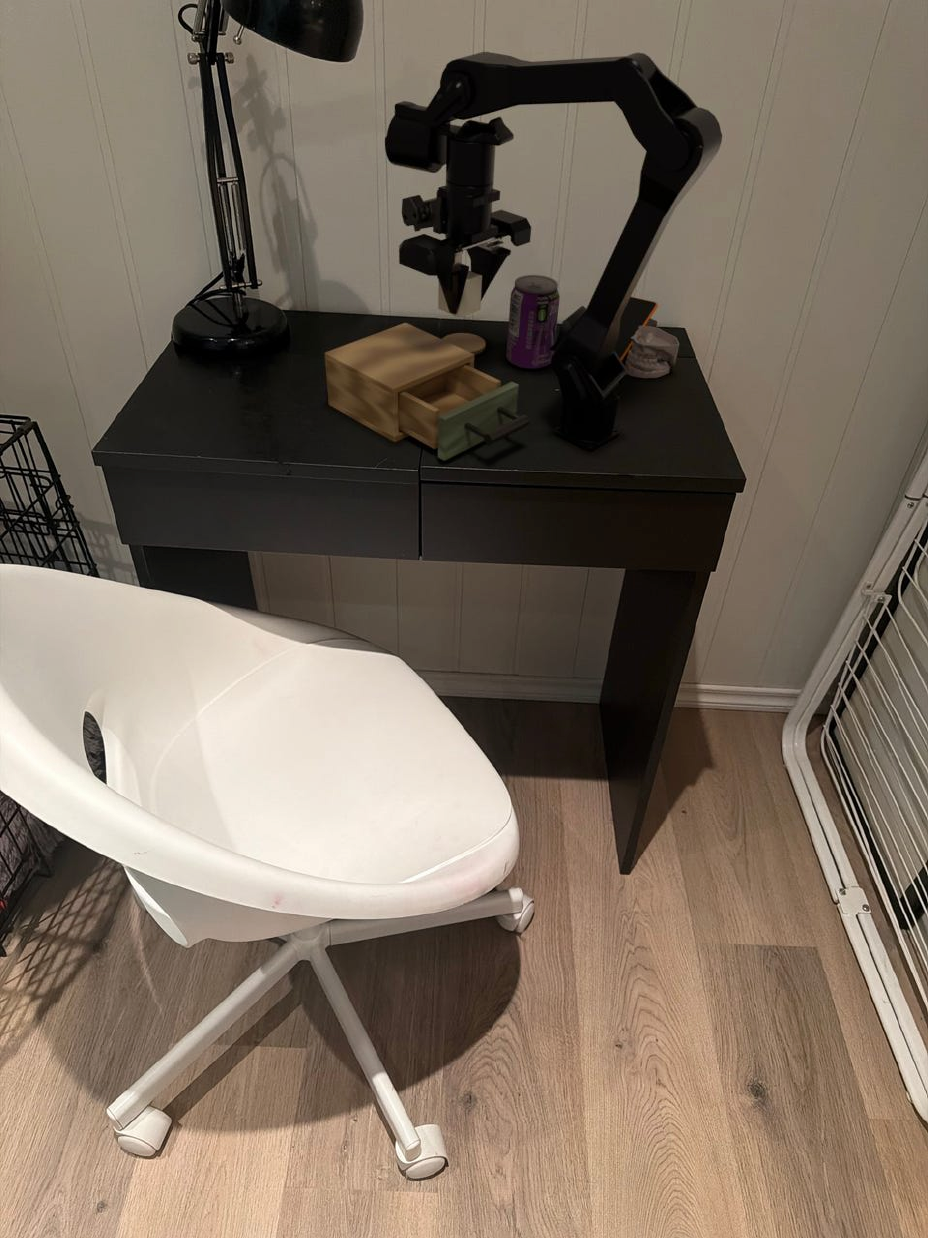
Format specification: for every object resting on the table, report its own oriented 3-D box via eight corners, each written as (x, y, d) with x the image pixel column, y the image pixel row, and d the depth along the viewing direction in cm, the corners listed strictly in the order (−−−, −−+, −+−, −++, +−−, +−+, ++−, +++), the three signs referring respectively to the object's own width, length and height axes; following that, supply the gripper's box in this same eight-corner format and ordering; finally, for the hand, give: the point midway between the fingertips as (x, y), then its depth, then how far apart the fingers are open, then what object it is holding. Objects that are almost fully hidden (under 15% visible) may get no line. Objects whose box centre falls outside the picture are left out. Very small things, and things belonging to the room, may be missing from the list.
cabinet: (472, 405, 118) (474, 354, 113) (394, 442, 110) (393, 388, 105) (406, 372, 125) (405, 322, 119) (328, 404, 117) (324, 352, 111)
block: (480, 309, 112) (482, 275, 109) (460, 318, 110) (461, 283, 107) (458, 300, 114) (459, 266, 111) (438, 308, 112) (438, 274, 109)
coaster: (494, 346, 132) (494, 343, 131) (463, 360, 128) (463, 356, 128) (462, 332, 135) (462, 328, 135) (431, 345, 132) (431, 341, 131)
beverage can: (549, 375, 125) (558, 294, 117) (502, 369, 126) (507, 289, 118) (555, 354, 131) (563, 276, 122) (510, 349, 131) (515, 271, 123)
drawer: (543, 438, 110) (548, 398, 106) (472, 477, 103) (474, 435, 99) (449, 391, 119) (450, 352, 115) (377, 423, 111) (376, 383, 108)
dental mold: (658, 353, 120) (652, 385, 124) (688, 340, 124) (682, 372, 127) (615, 335, 125) (611, 367, 128) (646, 323, 128) (641, 354, 131)
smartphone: (659, 305, 131) (659, 301, 130) (611, 379, 125) (611, 375, 124) (614, 295, 134) (614, 291, 133) (565, 367, 128) (565, 363, 127)
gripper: (472, 152, 110) (467, 273, 120) (365, 178, 99) (370, 309, 110) (539, 171, 104) (527, 297, 115) (433, 201, 94) (431, 336, 104)
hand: (464, 308), depth 111 cm, fingers closed on block, 4 cm apart
